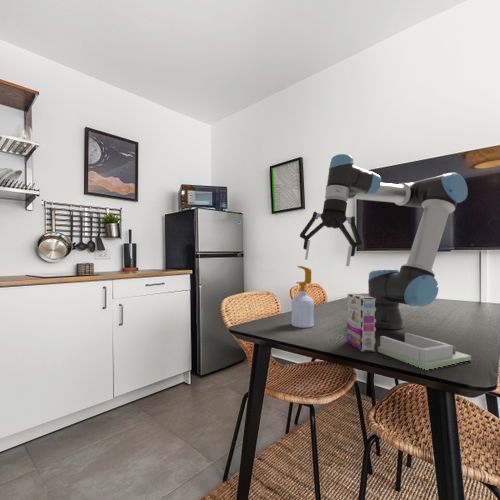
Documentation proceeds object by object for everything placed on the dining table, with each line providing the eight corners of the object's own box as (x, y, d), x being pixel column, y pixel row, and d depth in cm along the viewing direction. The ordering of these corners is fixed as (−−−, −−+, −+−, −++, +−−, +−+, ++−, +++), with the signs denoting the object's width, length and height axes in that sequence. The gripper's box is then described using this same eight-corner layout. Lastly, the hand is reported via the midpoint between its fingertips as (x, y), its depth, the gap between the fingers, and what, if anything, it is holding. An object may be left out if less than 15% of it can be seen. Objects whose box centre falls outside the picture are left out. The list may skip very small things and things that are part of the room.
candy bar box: (377, 352, 92) (377, 297, 92) (361, 352, 91) (361, 298, 91) (360, 341, 103) (360, 293, 103) (346, 341, 102) (346, 293, 103)
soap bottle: (287, 324, 127) (287, 265, 127) (305, 322, 131) (305, 265, 131) (299, 329, 119) (299, 266, 119) (318, 326, 122) (318, 266, 123)
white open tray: (419, 345, 99) (419, 331, 99) (471, 361, 84) (471, 345, 84) (377, 351, 92) (377, 336, 92) (426, 370, 77) (426, 352, 77)
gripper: (298, 193, 101) (288, 255, 100) (377, 202, 96) (367, 268, 95) (299, 199, 108) (290, 257, 107) (372, 208, 103) (363, 269, 102)
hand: (326, 262), depth 101 cm, fingers open, 13 cm apart
